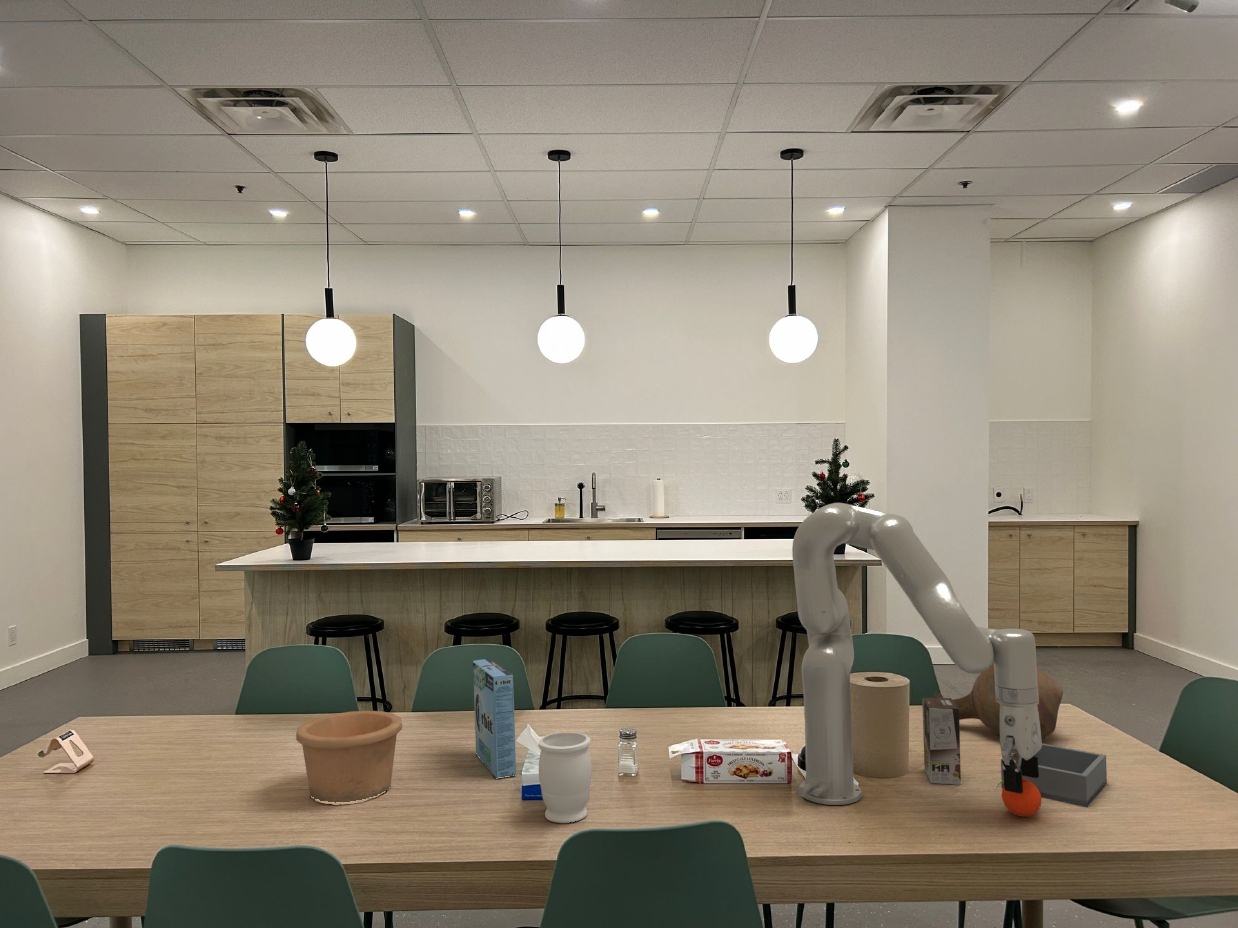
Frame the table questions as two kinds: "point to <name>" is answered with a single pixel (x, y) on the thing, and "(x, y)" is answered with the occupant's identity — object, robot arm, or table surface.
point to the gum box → (494, 717)
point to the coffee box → (941, 740)
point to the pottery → (349, 754)
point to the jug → (988, 710)
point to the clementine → (1022, 799)
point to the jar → (565, 775)
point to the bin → (1068, 774)
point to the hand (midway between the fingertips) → (1022, 783)
